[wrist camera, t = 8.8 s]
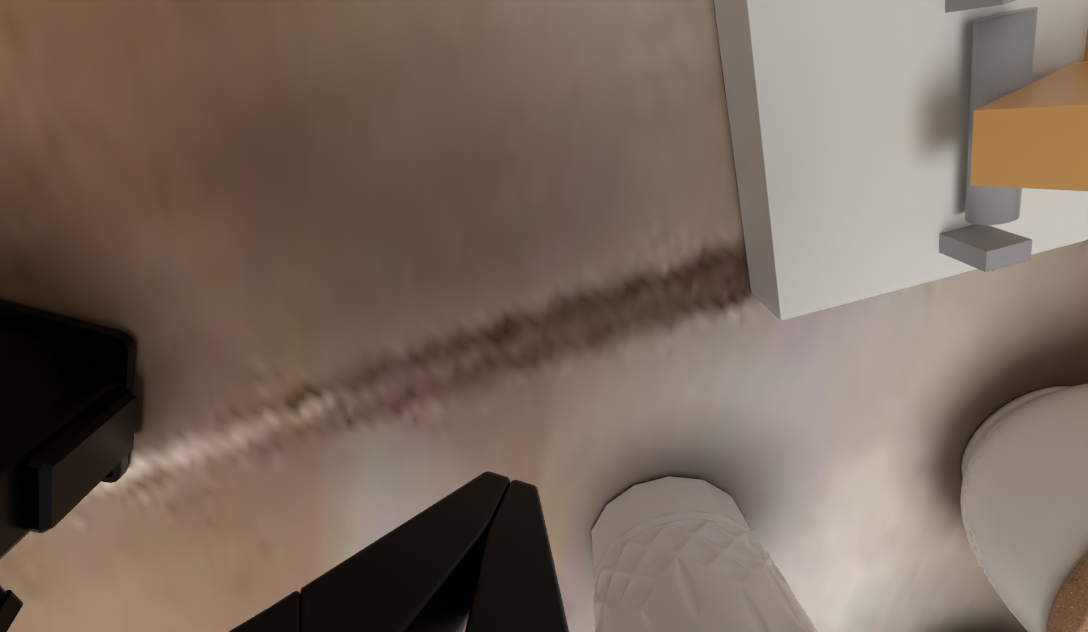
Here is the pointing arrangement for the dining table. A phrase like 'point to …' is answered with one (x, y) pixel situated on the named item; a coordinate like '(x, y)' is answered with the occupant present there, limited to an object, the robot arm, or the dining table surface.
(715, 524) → the white cup
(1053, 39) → the switch console
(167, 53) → the dining table surface
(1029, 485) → the lidded jar
